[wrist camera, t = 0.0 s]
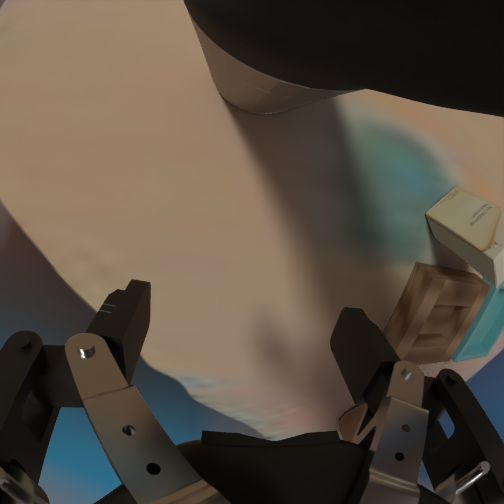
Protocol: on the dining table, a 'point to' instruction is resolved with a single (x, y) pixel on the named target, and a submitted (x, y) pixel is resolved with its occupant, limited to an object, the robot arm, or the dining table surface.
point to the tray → (483, 326)
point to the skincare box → (471, 231)
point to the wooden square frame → (434, 313)
